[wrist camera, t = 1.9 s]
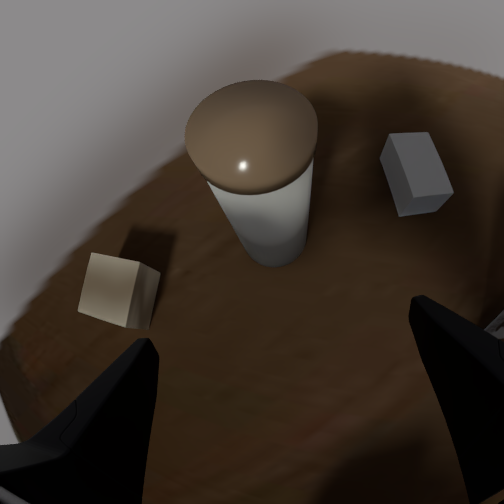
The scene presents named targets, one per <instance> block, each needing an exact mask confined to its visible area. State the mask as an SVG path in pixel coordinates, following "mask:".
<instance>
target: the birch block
mask: <svg viewBox="0 0 504 504" xmlns="http://www.w3.org/2000/svg"><path fill="white" fill-rule="evenodd" d="M160 274H161V273H160V272H158V271H156V270H154V269H152V268H150V267H148V266H147V265H145V264H143V263H141V262H137V261H132V260H127V259H122V258H117V257H111V256H106V255H101V254H96V253H91V257H90V261H89V264H88V268H87V272H86V276H85V280H84V285H83V289H82V293H81V298H80V303H79V308H78V312H81V313H84V314H87V315H90V316H93V317H95V318H98V319H101V320H104V321H107V322H110V323H113V324H117V325H120V326H123V327H127V328H137V329H147V330H149V325H150V320H151V315H152V311H153V306H154V301H155V297H156V292H157V287H158V283H159V279H160Z"/></svg>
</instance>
